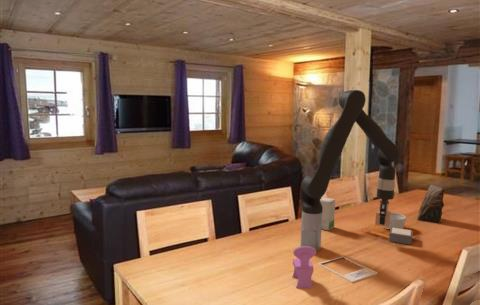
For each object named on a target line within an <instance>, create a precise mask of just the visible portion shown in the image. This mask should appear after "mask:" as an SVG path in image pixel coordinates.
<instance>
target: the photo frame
mask: <svg viewBox="0 0 480 305" xmlns="http://www.w3.org/2000/svg"><path fill="white" fill-rule="evenodd" d="M342 258H344V260H346V261H348V262H350V263H352V264H355V265H356V266H358V267H361V268H360V269H358V270H355V271H354V270H353V271H352V272H349V273H346V274H343V275H342V274H341V273H339V272H337V271H335V270H333V269H331V268H329V267H327V266H326V265H323V264H325V263H328V262H331V261H336V260H338V259H342ZM317 265H318V266H319V267H321V268H323V269H325V270H327V271H329V272H330V273H333V274H334V275H336V276H339V277H340V278H342V279H344V280H345V281H348V282H350V283H351V284H353V283H356V282H359V281H362V280H364V279H368V278H370V277H373V276H376V275H378V272H377V271H375V270H374V269H371V268H369V267H367V266H364V265H362V264H361V263H359V262H356V261H354V260H351V259H350V258H348V257H345V256H344V255H342V256H339V257H334V258H331V259H329V260H326V261H321V262H319V263H317Z"/></svg>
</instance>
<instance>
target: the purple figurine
mask: <svg viewBox="0 0 480 305" xmlns="http://www.w3.org/2000/svg"><path fill="white" fill-rule="evenodd" d="M292 253H293V255H294V256H295V257H296V258H293V259H292V266H294V269H293V274H292V276H291V277H292V278H293V277H296V278H295V279H297V277H298V279H297V284H296V286H295V288H296V289H314V286H313V282H312V276H313V273H314V265H313V264H312V261H311V259H312V258H314V256H316V254H317V251H316V250H315V249H314V248H312V247H309V246H302V247H300V246H298V247H296V248H295V249H293V252H292ZM293 279H294V278H293Z"/></svg>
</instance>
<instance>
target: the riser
mask: <svg viewBox="0 0 480 305" xmlns="http://www.w3.org/2000/svg"><path fill="white" fill-rule="evenodd" d="M413 233H414V232H413V230H412V229H404V228H403V229H399V228H392V227H391V229H390V230H389V238H388V241H389V242H390V243H391V242H392V243H398V244H403V245H410V246H412V244H413Z"/></svg>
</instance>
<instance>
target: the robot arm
mask: <svg viewBox="0 0 480 305" xmlns="http://www.w3.org/2000/svg"><path fill="white" fill-rule="evenodd" d="M366 100H367V99H366V94H365V93H364V92H363V91H362V90H359V89H351V90H345V91H343V92H341V94H340V95H339V97H338V104H339V106H340V108H341V109H342V111H341V113H340V116H339V118H338V119H337V121H336V122H334V124H333V125H332V126H331V128H329V129H328V131H327V132H326V134H325V137H324V139H323V140H322V142H321V143H322V144H321V146H320V148H319V149H320V150H319V160H318V166H317V168H316V171H315V173H314V174H313V175H306V176H305V177H304V178H303V179H302V181H301V184H300V205H301V220H300V221H301V223H300V226H301V227H300V246H299V247H302V246H309V247H312V248H314V249H315V250H316V252H317V251H321V249H322V248H321V246H322V230H323V229H322V211H323V207H322V204H321V202H320V199H322V197H323V196H324V195H325V193H327V189H328V188H329V183H330V181H331V179H332V178H331V177H332V174H333V171H335V167H336V165H337V163H338V161H339V159H340V156H341V155H342V153H343V150H344V149H345V148H344V147H345V145H346V143H347V140H348V138H349V137H350V133H351V132H352V129H353V127H354V124H355V123H356V124H357V125H358V127H359V128H360V129H361V130H362V131H363V133H364V134H365V137H367V139H368V140H369V141H370V142H371V144H372V145H373V146H374V147H375V148H377V149H378V152H377V160H378V162H377V163H378V167H379V172H378V180H377V188H376V198H378V199H381V200H380V201H379V209H378V210H379V211H380V214H379V215H380V224H381V225H384V224H385V217H386V213H387V211H389V207H390V201H389V200H393V199H394V198H395V197H394V196H395V188H396V187H395V186H396V181H395V180H396V179H395V178H396V168H395V166H393V164H392V163H394V162H397V161H399V159H400V157H401V152H400V149H399V148H398V146H397V145H396V144H395V143H394V142H393V141H392V140H391V139H390V138H389V137H388V136H387V135H386V133H385V131H384V130H383V129H382V128H381V126H380V125H379V124H378V122H376V121H375V120H374V119H372V117H370V116H369V115H368V114H367V113H366V111H364V109H363V108H364V107H365V104H366ZM381 212H384V214H381Z"/></svg>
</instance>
